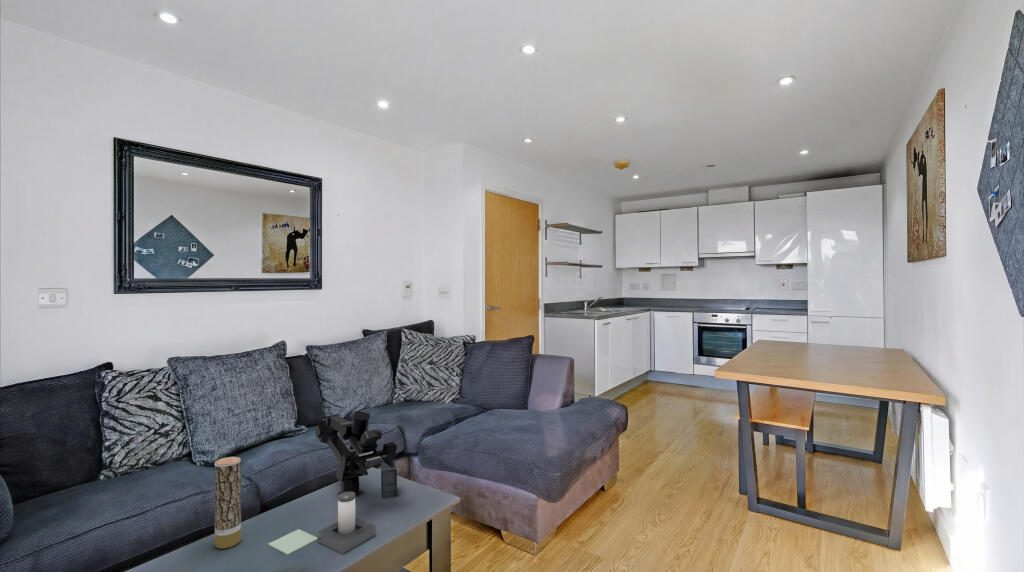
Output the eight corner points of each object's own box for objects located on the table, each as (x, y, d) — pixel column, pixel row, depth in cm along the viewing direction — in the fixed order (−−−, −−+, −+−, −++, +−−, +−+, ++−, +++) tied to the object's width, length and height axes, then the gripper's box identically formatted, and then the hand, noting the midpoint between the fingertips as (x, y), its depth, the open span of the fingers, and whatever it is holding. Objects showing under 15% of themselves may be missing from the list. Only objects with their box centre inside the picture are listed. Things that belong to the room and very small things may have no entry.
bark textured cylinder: (228, 551, 138) (228, 465, 138) (209, 548, 139) (208, 464, 139) (246, 538, 144) (246, 457, 144) (227, 536, 146) (227, 455, 146)
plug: (334, 540, 143) (334, 496, 143) (348, 532, 148) (348, 490, 148) (345, 544, 141) (345, 500, 141) (358, 537, 145) (358, 493, 145)
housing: (317, 541, 142) (317, 532, 142) (350, 524, 152) (350, 515, 152) (343, 554, 136) (343, 543, 136) (375, 535, 146) (375, 525, 146)
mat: (268, 545, 141) (268, 543, 141) (298, 530, 149) (298, 529, 149) (287, 555, 135) (287, 553, 135) (318, 539, 144) (318, 538, 144)
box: (380, 490, 178) (380, 462, 178) (396, 488, 180) (395, 460, 180) (381, 499, 171) (381, 469, 171) (397, 496, 173) (397, 468, 173)
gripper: (338, 430, 159) (356, 456, 148) (388, 419, 172) (409, 443, 161) (334, 459, 162) (352, 486, 151) (384, 446, 174) (404, 471, 163)
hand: (380, 470), depth 156 cm, fingers open, 9 cm apart
